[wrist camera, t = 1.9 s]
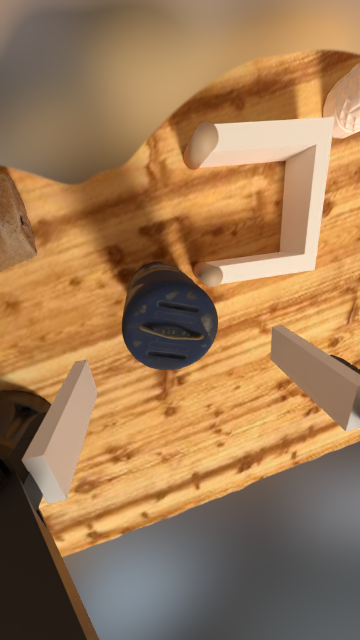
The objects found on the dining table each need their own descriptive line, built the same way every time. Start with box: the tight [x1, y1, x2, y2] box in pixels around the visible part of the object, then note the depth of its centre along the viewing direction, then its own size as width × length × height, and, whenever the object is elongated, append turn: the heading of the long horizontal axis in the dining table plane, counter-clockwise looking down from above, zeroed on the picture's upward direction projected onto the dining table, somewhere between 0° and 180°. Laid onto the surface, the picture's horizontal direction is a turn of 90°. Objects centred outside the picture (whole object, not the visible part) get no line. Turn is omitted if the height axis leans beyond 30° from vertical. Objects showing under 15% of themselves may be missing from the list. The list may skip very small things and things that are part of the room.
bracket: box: [183, 117, 335, 287], centre depth 30 cm, size 17×18×6 cm
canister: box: [122, 262, 218, 370], centre depth 27 cm, size 10×10×18 cm
